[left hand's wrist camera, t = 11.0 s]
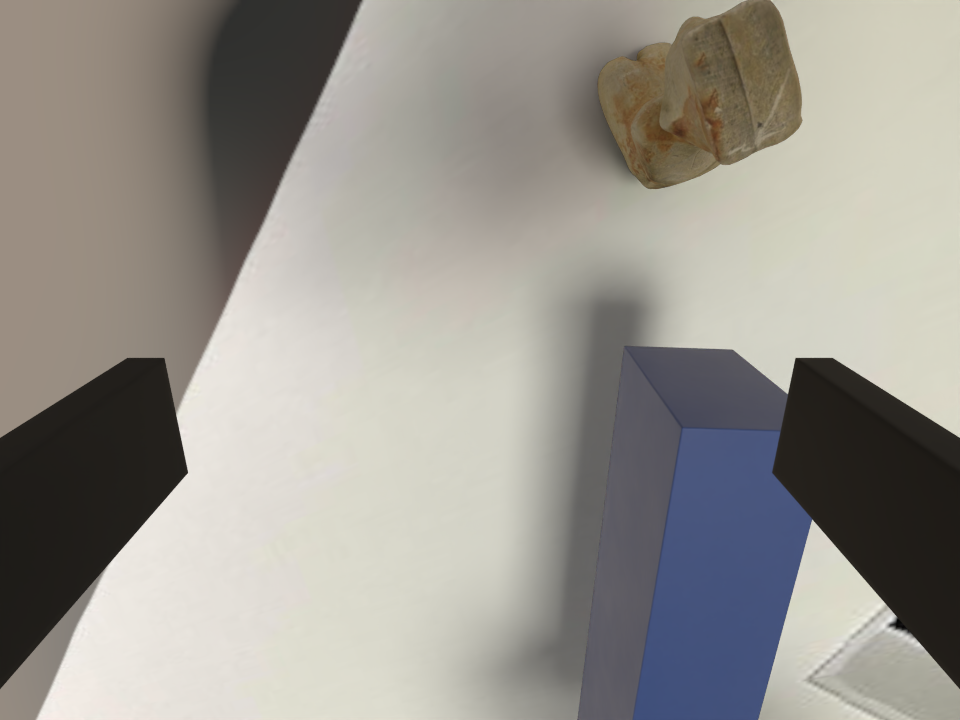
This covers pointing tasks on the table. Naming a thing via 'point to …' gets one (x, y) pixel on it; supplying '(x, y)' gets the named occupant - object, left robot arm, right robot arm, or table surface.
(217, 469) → the table surface
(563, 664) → the table surface
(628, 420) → the bar
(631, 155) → the sculpture
